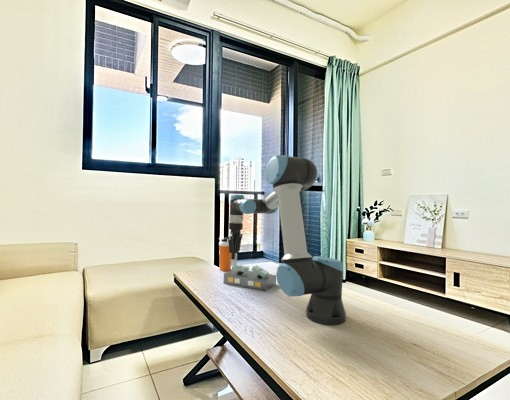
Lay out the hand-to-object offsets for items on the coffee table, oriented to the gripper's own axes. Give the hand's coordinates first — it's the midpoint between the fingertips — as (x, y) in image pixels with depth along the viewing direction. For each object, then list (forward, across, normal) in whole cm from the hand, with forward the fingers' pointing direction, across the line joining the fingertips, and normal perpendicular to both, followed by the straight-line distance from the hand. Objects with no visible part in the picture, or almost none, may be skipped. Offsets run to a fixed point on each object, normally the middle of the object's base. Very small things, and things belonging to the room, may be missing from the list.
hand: (233, 264), depth 153 cm
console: (+9, 0, -11) cm, 14 cm away
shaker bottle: (+10, +18, +16) cm, 26 cm away
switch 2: (+1, 0, -16) cm, 16 cm away
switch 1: (+1, 0, -4) cm, 5 cm away
